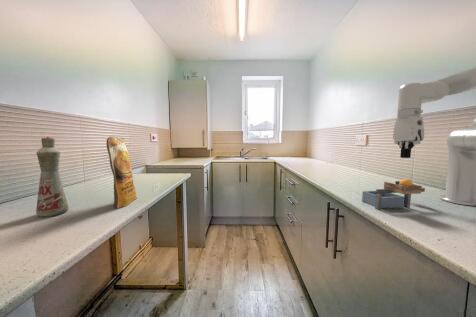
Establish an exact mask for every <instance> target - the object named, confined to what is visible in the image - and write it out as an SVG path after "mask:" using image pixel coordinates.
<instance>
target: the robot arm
mask: <svg viewBox="0 0 476 317" xmlns="http://www.w3.org/2000/svg"><path fill="white" fill-rule="evenodd" d="M475 89H476V66H474V67H471V68H467V69H465V70H462V71H459V72H455V73H453V74H450V75H449V76H446V77H444V78H441V79H437V80H435V81H430V82H422V83H421V82H410V83H404V84H403V85H401V86H400V87H399V88H398V103H397V114H396V118H395V122H394V127H393V133H392V139H393V144H394V145H395V144H396V145H397V146H399V149H400V159H410V158H411V154H412V149H414V147H415V145H417V146H418V145H420V144H421V141H424V139H425V124H424V123H425V122H424V118H423V117H424V116H421V114H423V112H424V110H423V109H422V104H426V103H431V102H435V101H439V100H442V99H444V98H445V97H448V96H453V95H457V94H458V95H459V94H462V93H466V92H470V91H473V90H475ZM470 126H471V127H461V128H458V129H455V130H452V131H451V132H449V133H448V135H447V138H446V144H447V150H448V161H447V162H448V163H447V171H446V182H445V184H446V185H445V192H444V193H445V194H442V195H440V196H439V199H440V200H442V201H444V202H448V203H452V204H457V205H463V206H472V207H473V206H475V207H476V117H475V118H474V119H473V121H471V125H470Z"/></svg>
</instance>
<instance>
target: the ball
mask: <svg viewBox="0 0 476 317" xmlns="http://www.w3.org/2000/svg"><path fill="white" fill-rule="evenodd" d="M399 181H400V185H402V186H412V185H413V184H414V183H413V181H412V180H410V179H408V178H403V179H401V180H399Z"/></svg>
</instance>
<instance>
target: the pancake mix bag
mask: <svg viewBox="0 0 476 317" xmlns="http://www.w3.org/2000/svg"><path fill="white" fill-rule="evenodd" d="M106 150H107V154H108V158H109V166H110V169H111V171H112V172H111V173H112V175H113V176H112V177H113V207H114V208H115V209H119V208H122V207H123V208H124V207H126V206H128V205H130V204H131V203H133V202H134V201H135V200H136V199H137V198H138V196H137V191H136V187H135V183H134V176H133V170H132V164H131V162H132V161H131V158H130V154H129V150H128V148H127V145H126V141H125V138H123V137H117V136H108V137H107V139H106Z"/></svg>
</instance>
